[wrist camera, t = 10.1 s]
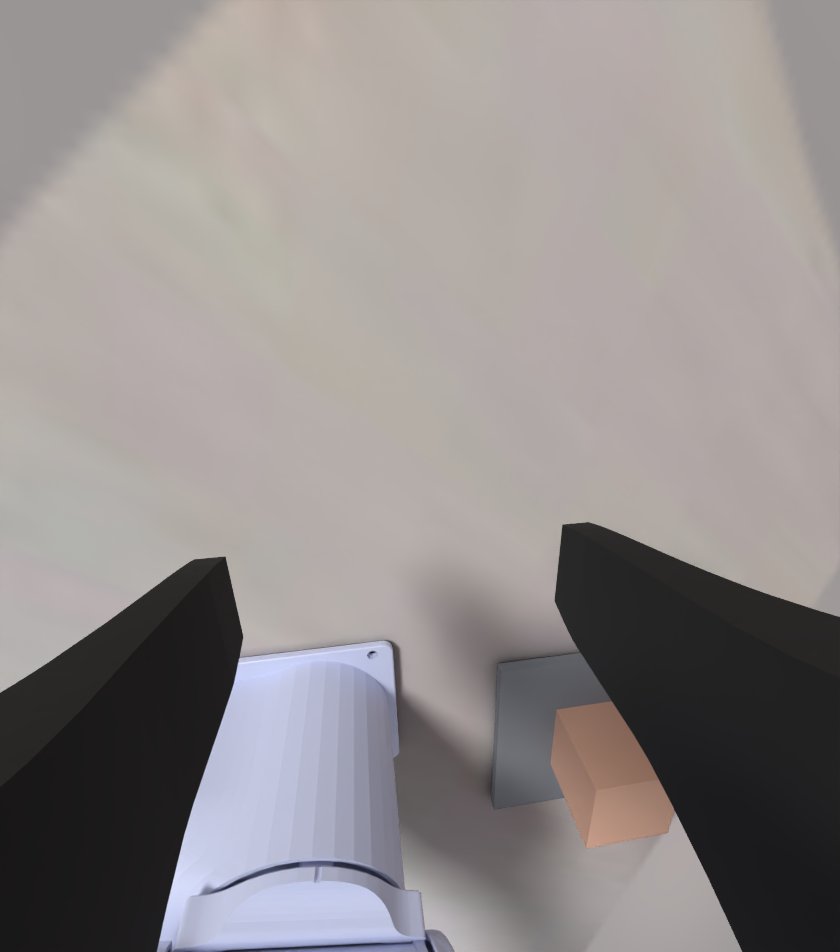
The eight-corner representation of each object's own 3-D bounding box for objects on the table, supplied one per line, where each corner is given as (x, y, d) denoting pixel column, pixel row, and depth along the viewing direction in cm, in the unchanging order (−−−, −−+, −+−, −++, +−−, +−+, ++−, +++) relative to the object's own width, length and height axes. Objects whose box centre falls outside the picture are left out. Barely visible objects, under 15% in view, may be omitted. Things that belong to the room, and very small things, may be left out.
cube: (550, 763, 26) (586, 848, 22) (556, 709, 25) (596, 790, 21) (620, 752, 27) (667, 833, 23) (630, 698, 25) (683, 774, 21)
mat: (491, 799, 28) (493, 809, 27) (497, 663, 24) (501, 672, 23) (654, 771, 29) (660, 781, 28) (688, 638, 25) (695, 646, 24)
